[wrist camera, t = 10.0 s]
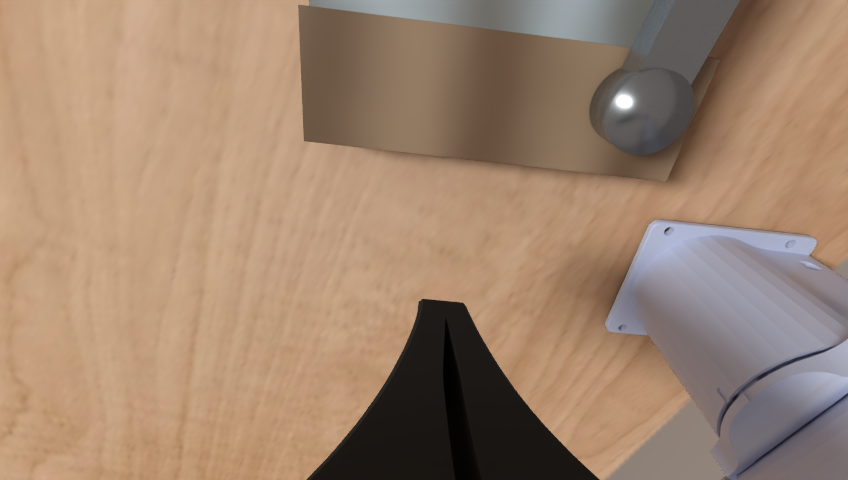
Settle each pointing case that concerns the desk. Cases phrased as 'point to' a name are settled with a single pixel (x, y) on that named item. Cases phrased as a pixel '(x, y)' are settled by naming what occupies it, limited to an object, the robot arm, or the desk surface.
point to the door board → (475, 79)
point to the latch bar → (658, 76)
